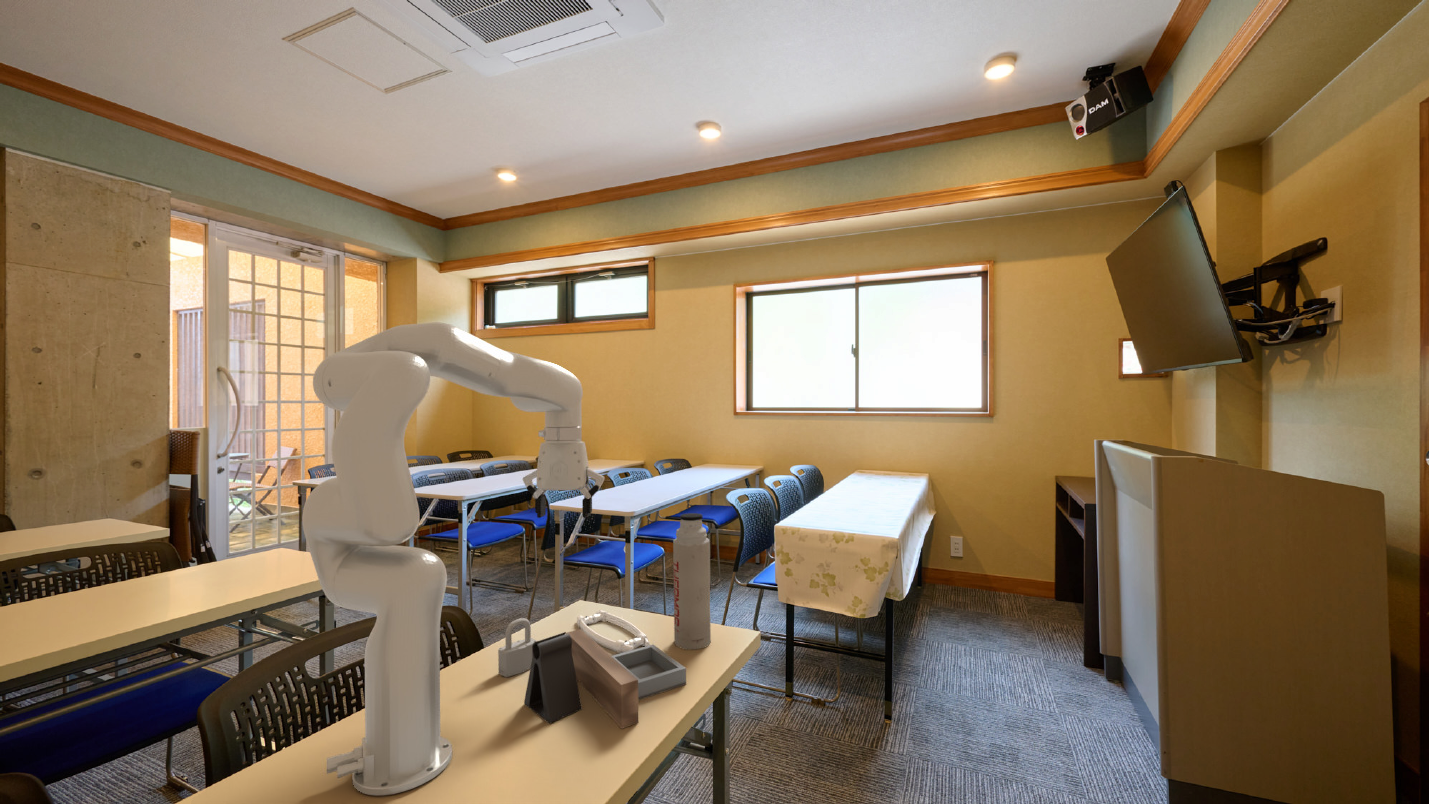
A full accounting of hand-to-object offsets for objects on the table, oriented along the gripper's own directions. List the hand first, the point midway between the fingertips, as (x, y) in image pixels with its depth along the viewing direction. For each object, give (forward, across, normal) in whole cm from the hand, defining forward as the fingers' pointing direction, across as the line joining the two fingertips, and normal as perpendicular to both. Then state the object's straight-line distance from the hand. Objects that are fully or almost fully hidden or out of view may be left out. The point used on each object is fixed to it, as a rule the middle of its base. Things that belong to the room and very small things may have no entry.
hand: (563, 516), depth 120 cm
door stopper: (+29, +5, -21) cm, 36 cm away
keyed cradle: (+29, +19, -10) cm, 36 cm away
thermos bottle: (+29, +26, +7) cm, 40 cm away
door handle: (+29, +8, +10) cm, 32 cm away
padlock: (+29, -7, -7) cm, 31 cm away
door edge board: (+29, +12, -16) cm, 35 cm away
